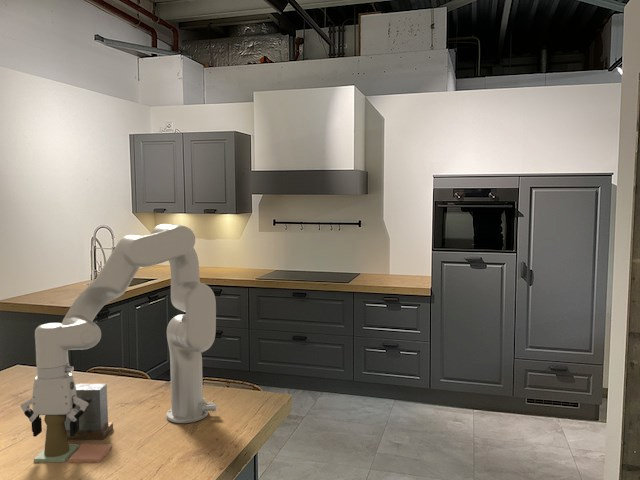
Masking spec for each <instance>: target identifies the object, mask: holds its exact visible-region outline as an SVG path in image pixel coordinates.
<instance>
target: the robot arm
mask: <svg viewBox="0 0 640 480" xmlns="http://www.w3.org/2000/svg"><path fill="white" fill-rule="evenodd" d="M195 245H196V235H195V233H194V231H193V230H192V229H191V228H190V227H188V226H185V225H181V224H172V223H161V224H158V225H156V226H155V227H154V228H153V229H152V231H151V234H148V235H147V234H146V235H137V234H128V235H125V236H123V237H121V239H120V240H118V243H117V244H116V245H115V247H114V249H113V250H112V251H111V253H110V255H109V256H108V258H107V260H106V261H105V263H104V265H103V266H102V268H101V270H100V271H99V272H98V275H97V276H96V277H95V279H94V280H93V281H92V282H91V283H90V284H89V285H88V286H87V287H86V288H85V289H84V290H83V291H82V292H81V293H80V294H79V295H78V296H77V298H75V300H74V301H73V303H72V304H71V306H70V307H69V310H68V311H67V313H66V314H65V316H64V317H63V319H62V322H47V323H44V324H39V325H38V326H37V327H36V328H35V330H34V340H35V363H36V376H35V377H34V382H33V387H32V395H31V396H32V398H30V399H28V400H26V401H24V402H23V403H21V404H20V408H21V410H22V411H23V413H24V416H26V417H27V419H28V420H29V422H30V423H31V432H32V434H33V435H32V436H33V438H34V437H37V436H39V435H40V434H41V433H42V432H43V426H42V425H43V423H42V421H43V420H42V418H41V416H45V415H67V416H68V417H69V418H70V419H71V420H72V421H71V422H70V436H74V435H75V434H76V433H77V432H78V431H79V418H80V417H81V416H82V415H83V414H84V412H85V410H86V409H87V407H88V402H86V401H84V400H82V399H80V398H78V397H77V392H76V386H75V384H76V382H75V378H74V375H73V372H74V370H75V368H74V366H71V365H70V362H69V351H73V350H74V351H77V350H88V349H91V348H93V347H95V346H97V344H98V343H99V342H100V340H101V338H102V331H101V328H100V326H98V325H97V324H96V322H93V321H94V319H95V317H97V315H98V314H99V312H100V311H101V310H102V309H103V307H104V306H105V305H107V304H108V303H110V302H111V301H113V300H116V299H118V298H120V297H121V296H122V295H124V294H125V293H126V291H127V290H128V288H129V286H130V284H131V282H132V281H133V279H134V278H135V276H136V274H137V272H138V271H139V269H140V268H146V267H148V268H149V267H153V266H156V265H159V264H162V263H165V262H169V267H170V268H169V269H170V302H171V304H172V306H173V307H174V308H175V309H177V310H179V311H181V312H184V313H185V314H184V313H183V314H182V313H181V314H177V315H175V316H173V318H171V319H170V321H169V322H168V325H167V327H166V339H167V344H168V351H169V360H170V361H169V362H170V363H169V364H170V366H169V367H170V369H169V370H170V403H171V404H170V405H171V408H170V409H168V410H167V412H166V415H165V417H166V419H167V420H168V421H169V422H171V423H175V424H189V423H190V424H191V423H194V422H199V421H201V420H203V419H205V418H207V416H208V415H209V411H210V412H217V410H218V406H217V404H215V402H212V401H211V402H208V401H206V397H203V386H204V385H203V357H202V356H203V355H202V353H204V352H206V351H207V350H209V349H210V348H211V347H212V345H214V342H215V338H216V332H217V330H216V329H217V304H216V303H217V301H216V296H215V293H214V291H213V290H212V288H211V287H210V286H209V285H208V284H205V283H203V282H201V279H200V277H201V276H200V263H199V257H198V254H197V251H196V250H195ZM31 405H32V407H30V406H31ZM77 405H79V406H80V407H81V408H80V410H79V412H78V411H77V410H76V409H75V408H76V407H77ZM31 408H32V409H31Z"/></svg>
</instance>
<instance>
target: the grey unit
mask: <svg viewBox="0 0 640 480" xmlns="http://www.w3.org/2000/svg"><path fill="white" fill-rule="evenodd" d="M75 386H76V392H77V397H78V398H80V399H82V400H84V401H86V402H88V407H87V409H86V410H85V412H84V414H83V415H82V416H81V417H80V418H79V431H78V432H77V433H76V434H75V435H74V436H70V422H71V421H72V420H71V419H70V418H69V417H68V416H67V415H66V420H65V422H64V423H65V428H66V433H67V439H68V441H83V440H84V441H93V440H94V441H99V440H100V441H101V440H103V441H104V440H105V439H106V438H107V436H109V434H110V433H111V432H112V431H113V429H114V422H113V421H110V422H109V412H108V411H109V410H108V385H107V383H75ZM80 408H81V407H80V406H79V405H77V407H76V408H75V409H76V410H77V411H78V412H79V410H80Z"/></svg>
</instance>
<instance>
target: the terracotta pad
mask: <svg viewBox="0 0 640 480" xmlns="http://www.w3.org/2000/svg"><path fill="white" fill-rule="evenodd" d="M112 446H113V445H112V444H111V443H109V444H106V443H105V444H102V443H101V444H97V443H96V444H89V443H88V444H81V445H79V448H78V449H77V450H76V451H75V452H74V453H73V454H72V455H71V456H70V457H69V458H68V463H87V462H88V463H94V462H95V463H100V462H101V461H102V460H103V458H105V457H106V455H107V454H108V452H109V451H110V450H111V449H112Z"/></svg>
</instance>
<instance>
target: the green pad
mask: <svg viewBox="0 0 640 480" xmlns="http://www.w3.org/2000/svg"><path fill="white" fill-rule="evenodd" d="M79 447H80V445H79V444H69V451H68V452H67V453H65V454H63V455H61V456H57V457H47V456H45V455H44V450H45V448H44V449H43V450H42V451H40V452H39V454H37V455H36V456H35V457H33V463H57V462H58V463H66V462H67V460H69V458H70V457H71V456H72V455H73V454H74V453H75V452H76V451H77V450H78V448H79Z"/></svg>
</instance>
